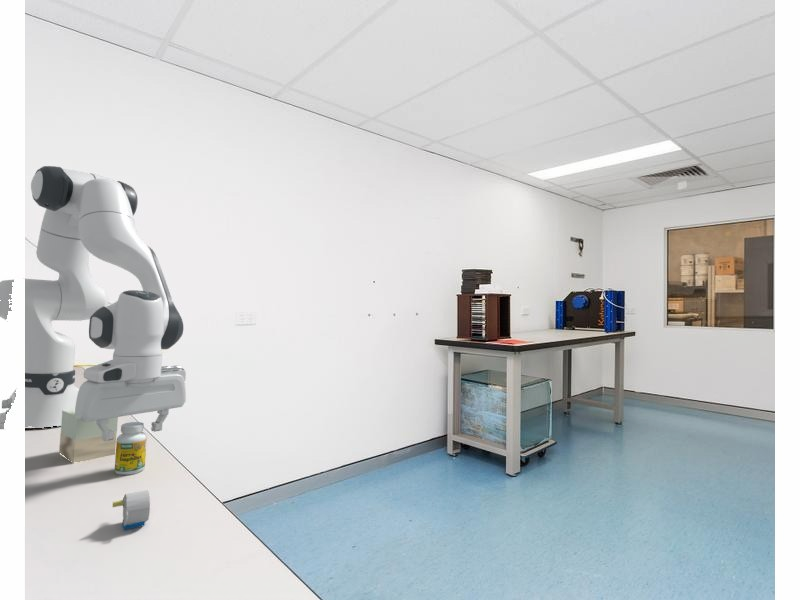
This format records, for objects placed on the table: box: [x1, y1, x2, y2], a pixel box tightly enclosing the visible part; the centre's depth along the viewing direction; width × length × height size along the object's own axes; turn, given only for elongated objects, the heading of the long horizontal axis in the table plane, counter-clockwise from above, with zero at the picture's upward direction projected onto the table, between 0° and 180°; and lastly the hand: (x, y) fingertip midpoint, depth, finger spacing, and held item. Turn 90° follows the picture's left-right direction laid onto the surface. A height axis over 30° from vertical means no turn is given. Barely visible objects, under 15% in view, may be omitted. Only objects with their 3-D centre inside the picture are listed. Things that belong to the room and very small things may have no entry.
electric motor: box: [112, 489, 151, 531], centre depth 69 cm, size 7×5×5 cm
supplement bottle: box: [114, 421, 148, 476], centre depth 90 cm, size 5×5×10 cm
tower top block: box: [60, 409, 119, 441], centre depth 98 cm, size 8×8×5 cm
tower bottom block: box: [58, 432, 118, 464], centre depth 97 cm, size 8×8×5 cm
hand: (133, 435), depth 90 cm, fingers open, 8 cm apart
